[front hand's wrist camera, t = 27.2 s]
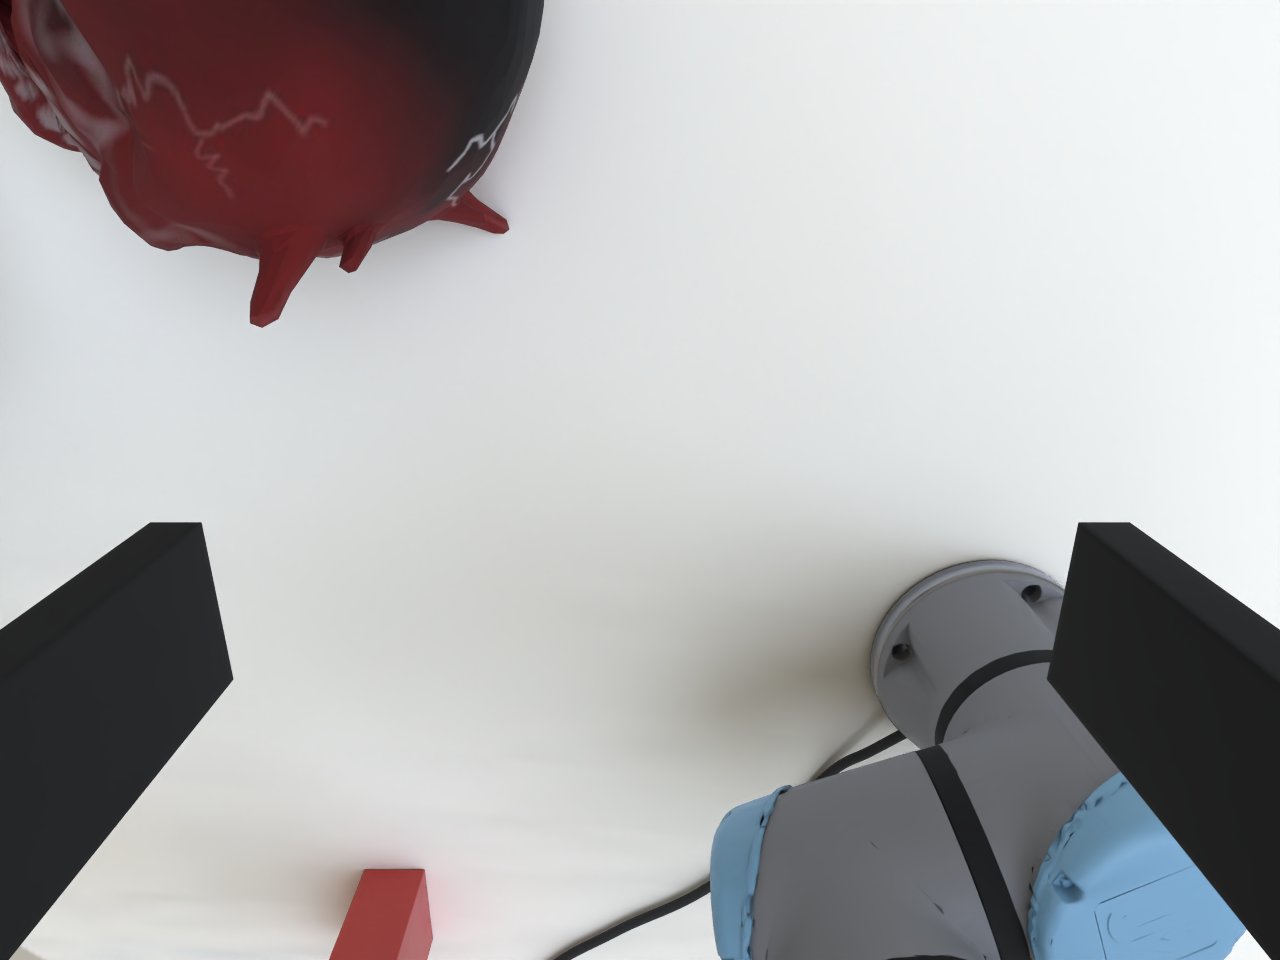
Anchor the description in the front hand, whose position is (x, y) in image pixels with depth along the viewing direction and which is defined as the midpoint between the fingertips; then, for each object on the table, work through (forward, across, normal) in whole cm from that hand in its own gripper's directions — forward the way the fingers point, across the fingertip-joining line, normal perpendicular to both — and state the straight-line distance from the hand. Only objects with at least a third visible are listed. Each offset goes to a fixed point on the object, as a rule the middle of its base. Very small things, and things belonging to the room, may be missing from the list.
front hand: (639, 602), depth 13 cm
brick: (+40, +20, +51) cm, 68 cm away
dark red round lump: (+40, +17, -13) cm, 46 cm away
